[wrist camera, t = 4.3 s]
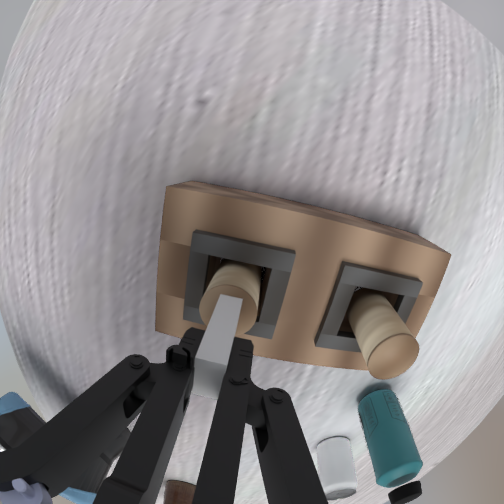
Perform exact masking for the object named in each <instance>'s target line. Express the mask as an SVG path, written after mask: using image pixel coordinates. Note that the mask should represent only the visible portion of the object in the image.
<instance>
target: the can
mask: <svg viewBox="0 0 504 504" xmlns="http://www.w3.org/2000/svg"><path fill="white" fill-rule="evenodd" d="M317 461H318V473H319V479H320V482H321V485H322V488H323V490H324V493H325V496H326V499H327V500H339V499H343V498H347V497H350V496H352V495H354V494H355V493H356V487H357V477H356V471H355V465H354V459H353V454H352V449H351V444H350V441H349V439H347V438H345V437H332V438H328V439H325V440H324V441H322V442H321V443H319V445H318V446H317Z"/></svg>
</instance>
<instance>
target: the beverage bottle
mask: <svg viewBox="0 0 504 504" xmlns="http://www.w3.org/2000/svg"><path fill="white" fill-rule="evenodd" d="M397 399H398V398H396V395H395V394H394V392H392V391H391V390H388V389H381V390H377V391H374V392H372V393H370V394H368V395H367V396H365V397H364V398H363V399H362V400H361V402H360V403H359V406H358V412H359V414H358V416H359V415H360V417H359V418H360V419H361V421H360V423H362V426H363V428H362V430H364V435H365V438H366V440H365V442H367V445H368V449H369V453H370V455H369V456H371V460H372V464H373V468H374V472H375V476H376V483H377V484H378V485H380V486H383V487H387V488H391V487H396V486H399V485H402V484H404V483H406V482H408V481H410V480H412V479H413V478H414V477H416V475H417V474H418V473H419V471H420V469H421V467H422V465H423V462H422V460H421V458H420V455H419V453H418V450H417V447H416V444H415V442H414V439H413V437H412V434H413V433H411V431H410V428H409V427H410V426H408V423H407V422H408V420H407V419H406V418H405V416H404V414H403V412H404V411H403V410H402V409H401V407H400V404H399V402H398V400H399V399H398V400H397ZM406 420H407V421H406ZM362 426H361V427H362ZM368 449H367V450H368ZM369 453H368V454H369ZM421 494H422V489H421V483H420V481H414V482H411V483H408V484H405V485H403V486H400V487H398V488H396V489H394V490H393V491H391V492H390V493H389V494H388V496H389V499H390V502H391V504H405V503H407V502H410V501H412V500H414V499H416V498H417V497H419V496H420V495H421Z"/></svg>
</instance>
